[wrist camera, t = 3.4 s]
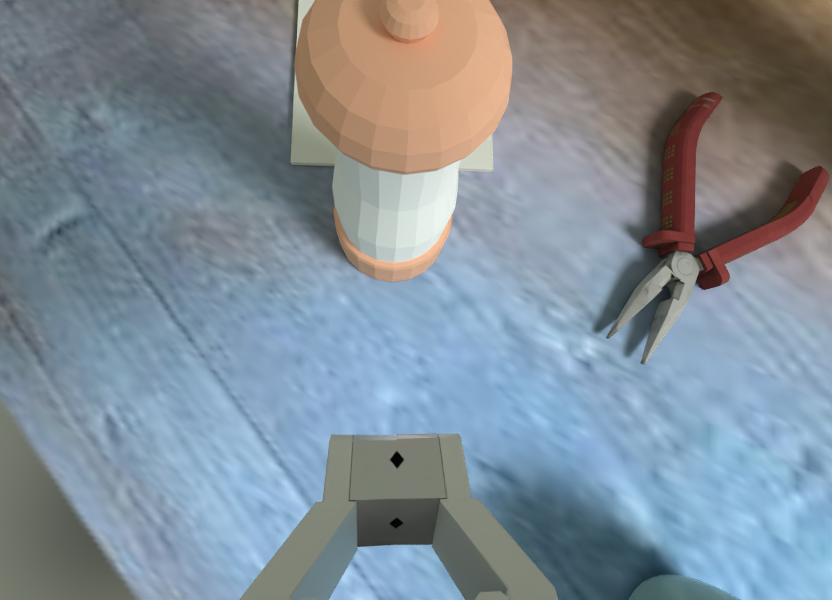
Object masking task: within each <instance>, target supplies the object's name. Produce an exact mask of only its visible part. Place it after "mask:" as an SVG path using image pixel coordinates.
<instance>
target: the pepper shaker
mask: <svg viewBox="0 0 832 600" xmlns="http://www.w3.org/2000/svg"><path fill="white" fill-rule="evenodd" d="M294 67H295V74H296V81H297V88H298V96H299V98H300V100H301V102H302V104H303V106H304V108H305V110H306V112H307V114H308V115H309V117H310V119H311V121H312V123H313V125H314V126H315V127H316V128H317V129H318V130H319V131H320V132H321V133H322V134H323V135H324V136H325V137H326V138H327V139H328V140H329V141H330V142H331V143H332V144H333V145H334V146H335V150H336V159H335V167H334V175H333V184H332V189H333V196H334V203H335V206H334V211H333V213H334V219H335V226H336V231H337V235H338V238H339V241H340V244H341V247H342V249H343V251H344V253H345V254H346V256H347V258H348V260H349V261H350V262H351V263H352V264H353V265H354V266H355V267H356V268H357V269H358V270H359V271H360V272H362V273H364V274H366V275H368V276H370V277H372V278H374V279H377V280H383V281H389V282H396V281H402V280H409V279H411V278H413V277H415V276H417V275H419V274H421V273H423V272H425V271H426V270H427V269H428V268H429V267H430V266H431V265H432V264H433V263H434V262H435V261H436V259H437V257H438V255H439V253H440V251H441V249H442V247H443V245H444V243H445V241H446V239H447V237H448V235H449V233H450V228H451V221H452V213H453V211H454V209H455V204H456V197H457V190H458V167H459V164H460V162H461V159H463V158H465V157H467V156H468V155H470V154H471V153H472V152H473V151H474V150H475V149H477V148H478V147H479V146H480V145H481V144H482V143H483V142H484V141H485V140H486V139H487V138H488V137H489V136H490V135H491V134H492V133H494V131H495V129H496V127H497V125H498V123H499V121H500V119H501V117H502V115H503V113H504V112H505V110H506V108H507V106H508V101H509V93H510V85H511V77H512V55H511V50H510V46H509V41H508V37H507V32H506V29H505V27H504V25H503V24H502V22H501V20H500V18H499V16H498V14H497V13H496V11H495V9H494V8H493V6H492V4H491V3H490V1H489V0H315V1H314V3H313V4H312V6H311V7H310V9H309V10H308V12H307V14H306V15H305V17H304V18H303V20H302V25H301V29H300V34H299V38H298V43H297V47H296V54H295V63H294Z"/></svg>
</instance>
